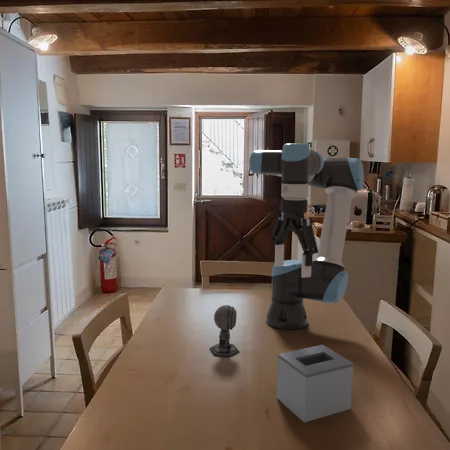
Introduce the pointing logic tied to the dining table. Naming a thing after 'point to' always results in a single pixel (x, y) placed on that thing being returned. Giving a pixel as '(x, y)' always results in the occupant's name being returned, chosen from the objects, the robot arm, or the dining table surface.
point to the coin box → (314, 382)
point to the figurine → (225, 331)
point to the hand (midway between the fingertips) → (292, 271)
